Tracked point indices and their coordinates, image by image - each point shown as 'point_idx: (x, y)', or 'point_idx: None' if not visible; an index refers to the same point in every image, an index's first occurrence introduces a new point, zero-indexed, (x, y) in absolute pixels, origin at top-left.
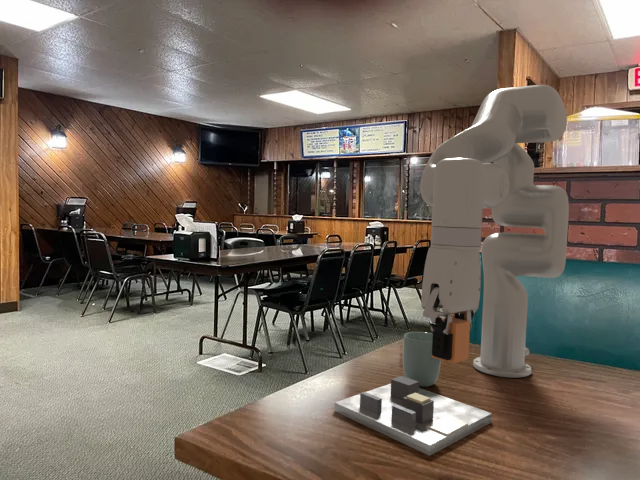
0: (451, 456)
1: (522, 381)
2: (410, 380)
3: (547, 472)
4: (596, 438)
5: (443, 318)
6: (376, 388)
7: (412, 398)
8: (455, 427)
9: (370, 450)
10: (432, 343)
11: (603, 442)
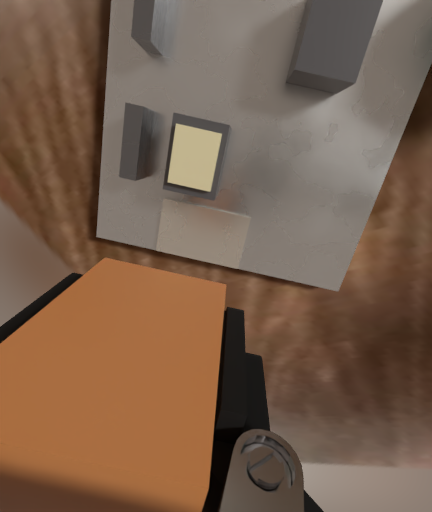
0: (134, 261)
1: None
2: (351, 47)
3: None
4: (364, 428)
5: (62, 476)
6: None
7: (172, 148)
8: (198, 254)
9: (36, 124)
10: (35, 301)
11: (353, 435)
